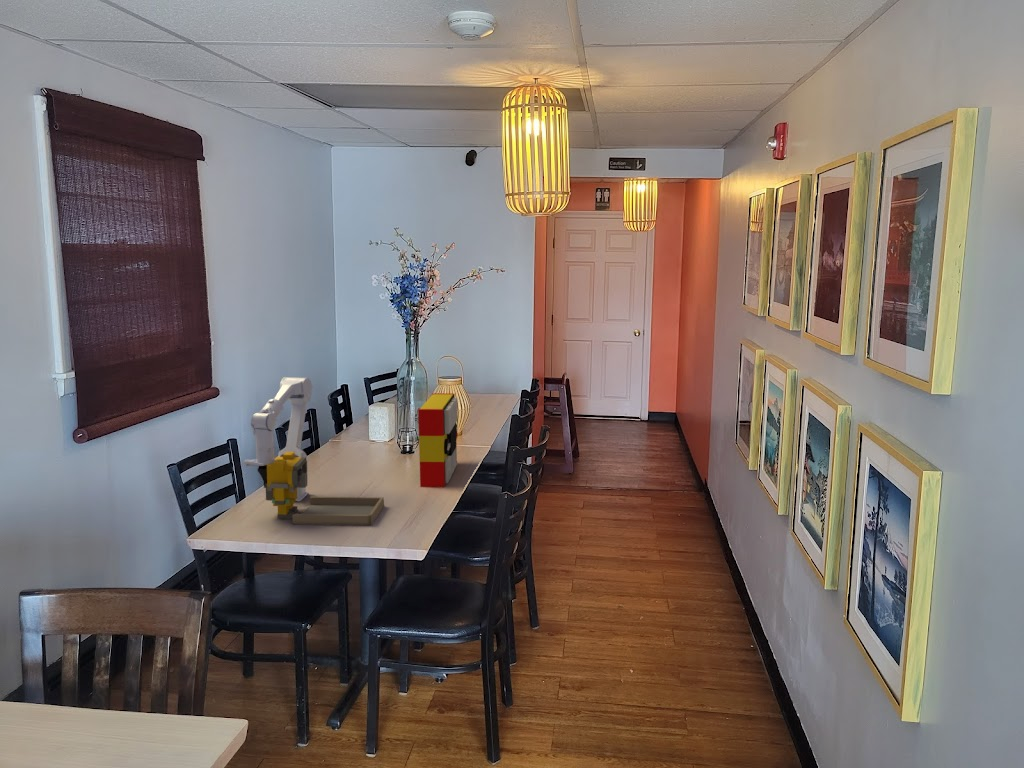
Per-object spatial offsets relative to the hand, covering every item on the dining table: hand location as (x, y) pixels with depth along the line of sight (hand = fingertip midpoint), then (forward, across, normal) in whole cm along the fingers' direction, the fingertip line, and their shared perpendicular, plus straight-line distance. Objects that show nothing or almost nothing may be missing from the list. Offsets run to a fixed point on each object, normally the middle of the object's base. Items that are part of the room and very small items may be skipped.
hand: (267, 486), depth 261 cm
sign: (+9, +52, +49) cm, 72 cm away
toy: (+10, +7, 0) cm, 12 cm away
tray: (+9, +25, 0) cm, 26 cm away
